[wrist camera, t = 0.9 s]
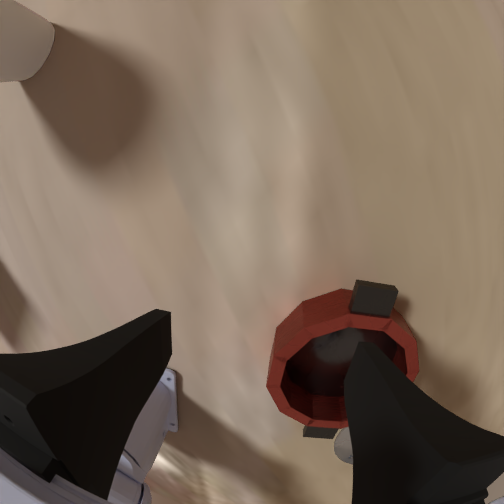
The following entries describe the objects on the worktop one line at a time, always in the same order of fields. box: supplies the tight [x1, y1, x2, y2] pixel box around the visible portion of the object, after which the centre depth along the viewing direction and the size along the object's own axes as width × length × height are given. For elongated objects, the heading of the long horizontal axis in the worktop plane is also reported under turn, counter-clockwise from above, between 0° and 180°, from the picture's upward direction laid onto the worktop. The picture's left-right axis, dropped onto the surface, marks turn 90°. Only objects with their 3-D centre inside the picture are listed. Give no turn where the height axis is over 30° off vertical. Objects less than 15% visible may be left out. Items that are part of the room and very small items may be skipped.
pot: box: [266, 280, 419, 439], centre depth 20 cm, size 14×11×4 cm
